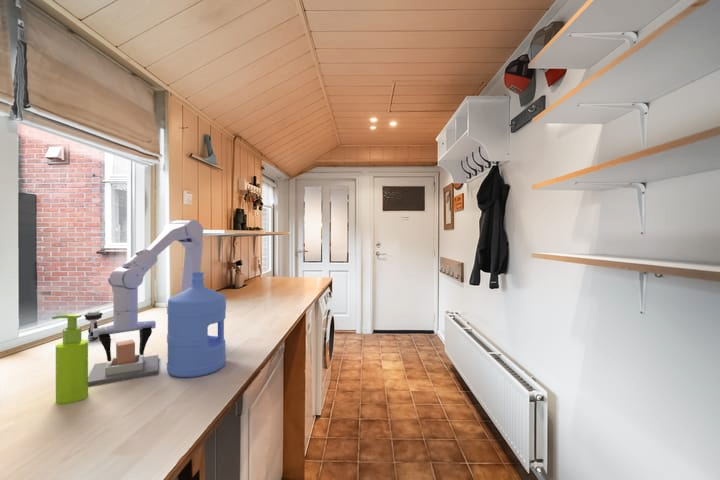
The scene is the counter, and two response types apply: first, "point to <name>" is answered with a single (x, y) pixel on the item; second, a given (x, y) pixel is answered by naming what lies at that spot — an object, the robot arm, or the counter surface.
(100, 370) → the mounting socket
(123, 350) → the wooden peg
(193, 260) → the robot arm
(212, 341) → the water jug
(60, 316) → the soap dispenser
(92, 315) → the caster wheel
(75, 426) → the counter surface
